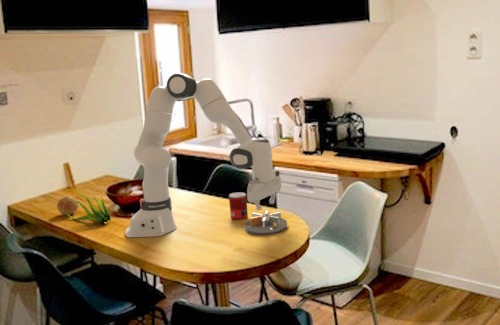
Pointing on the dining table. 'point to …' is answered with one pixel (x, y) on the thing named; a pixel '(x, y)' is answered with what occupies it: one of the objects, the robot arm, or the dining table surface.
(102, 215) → the decorative plant
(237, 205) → the canned food
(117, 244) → the dining table surface
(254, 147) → the robot arm
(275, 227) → the disc
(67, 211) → the onion
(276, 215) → the finned rotor disc
